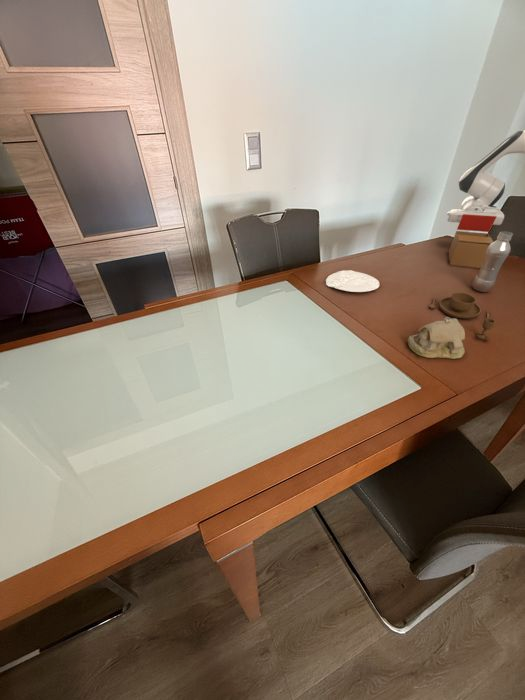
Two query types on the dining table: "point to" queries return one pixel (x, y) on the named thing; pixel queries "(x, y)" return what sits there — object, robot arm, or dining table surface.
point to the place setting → (464, 310)
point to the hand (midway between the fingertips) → (476, 222)
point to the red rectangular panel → (476, 222)
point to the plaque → (352, 281)
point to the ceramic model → (439, 339)
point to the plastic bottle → (492, 262)
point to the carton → (469, 249)
